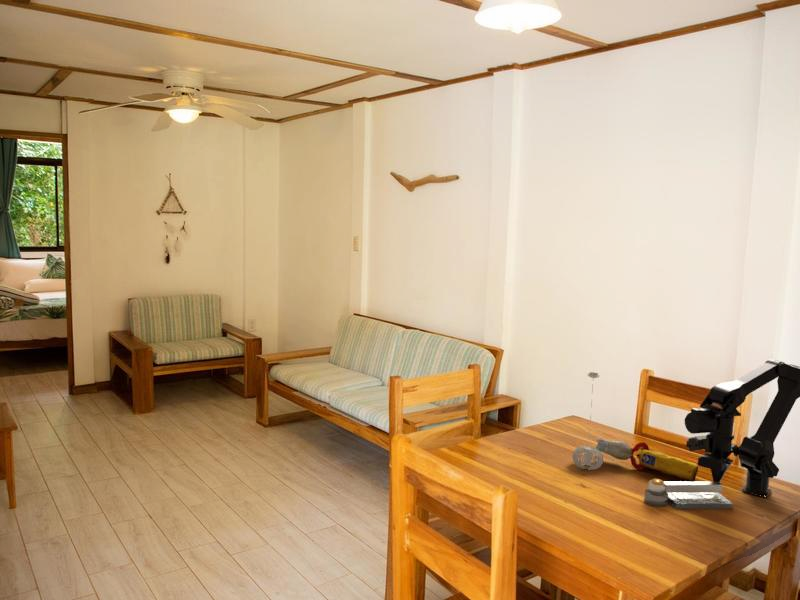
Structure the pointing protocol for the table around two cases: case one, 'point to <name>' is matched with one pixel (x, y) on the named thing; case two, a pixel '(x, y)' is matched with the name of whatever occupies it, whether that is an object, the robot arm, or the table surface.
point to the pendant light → (588, 449)
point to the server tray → (699, 500)
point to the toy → (649, 458)
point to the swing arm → (682, 487)
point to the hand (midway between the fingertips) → (716, 484)
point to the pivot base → (656, 499)
